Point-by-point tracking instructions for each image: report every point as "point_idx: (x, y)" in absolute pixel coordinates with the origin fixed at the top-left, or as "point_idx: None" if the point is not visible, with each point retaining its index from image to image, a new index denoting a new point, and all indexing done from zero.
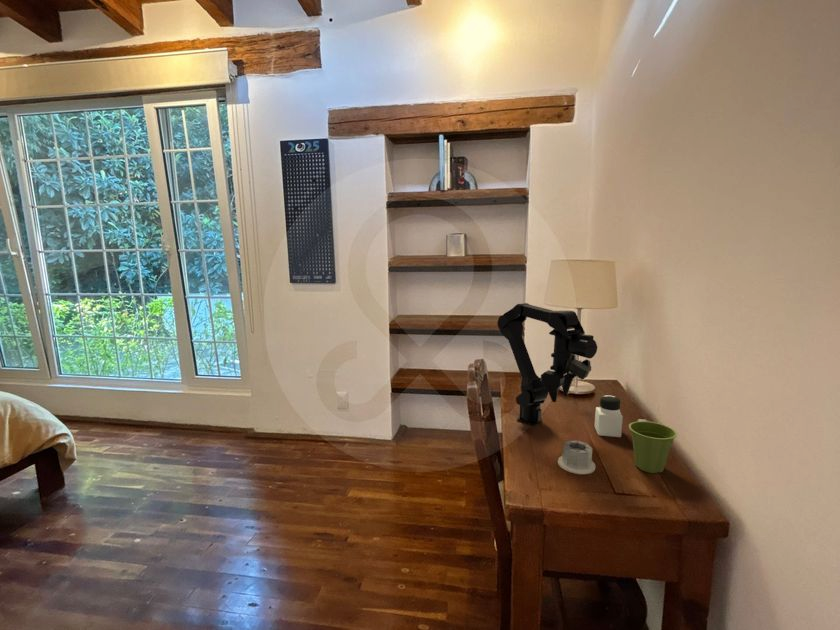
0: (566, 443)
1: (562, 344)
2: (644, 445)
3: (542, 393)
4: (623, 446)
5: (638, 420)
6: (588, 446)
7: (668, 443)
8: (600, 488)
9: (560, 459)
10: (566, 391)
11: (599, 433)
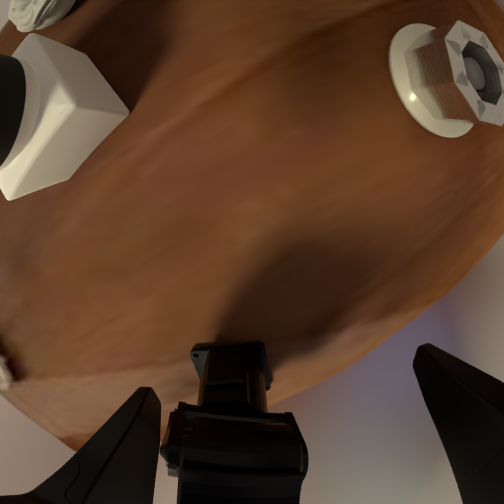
0: (492, 116)
1: None
2: None
3: (233, 453)
4: (159, 4)
5: (24, 1)
6: (458, 33)
7: None
8: (468, 15)
9: (456, 129)
10: (146, 412)
11: (125, 108)
